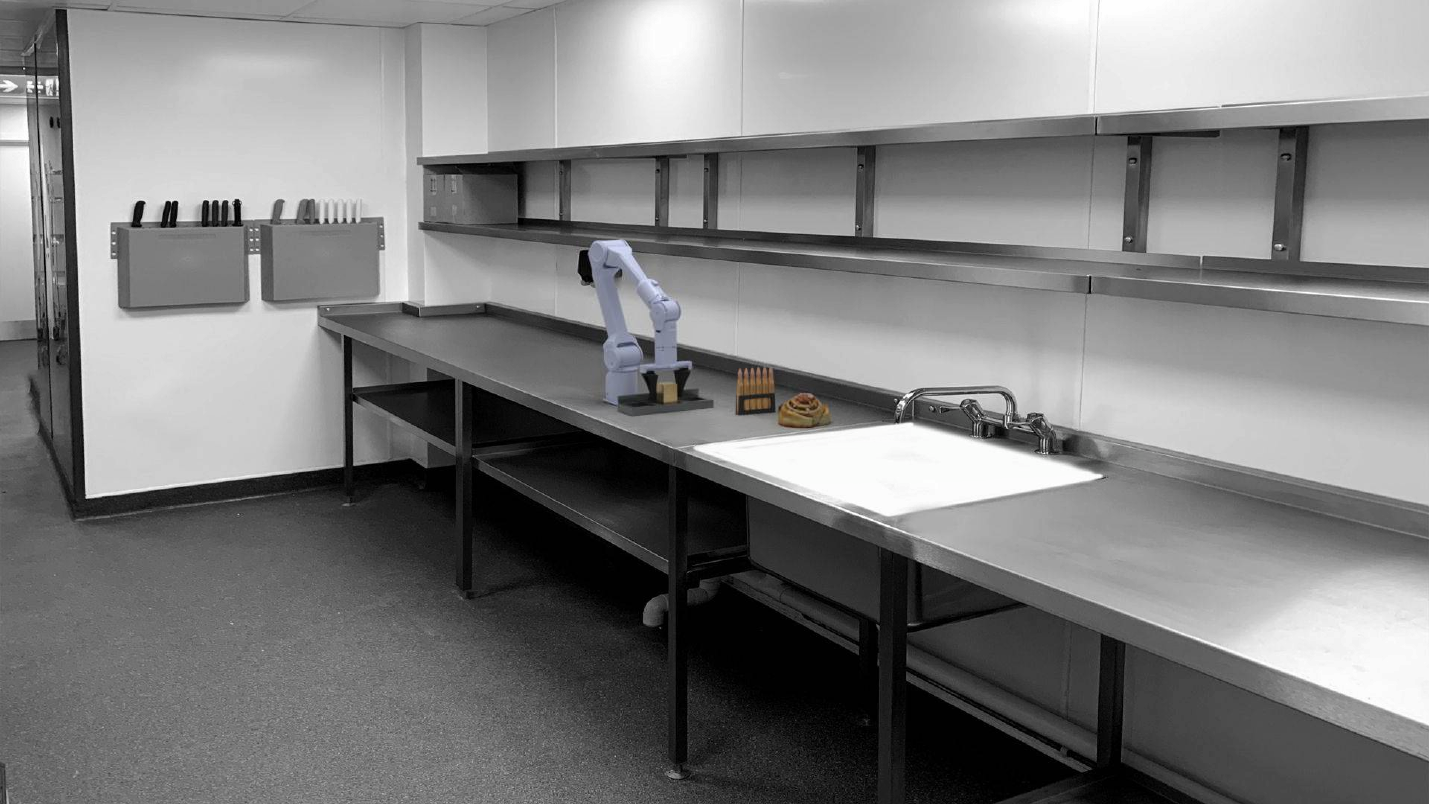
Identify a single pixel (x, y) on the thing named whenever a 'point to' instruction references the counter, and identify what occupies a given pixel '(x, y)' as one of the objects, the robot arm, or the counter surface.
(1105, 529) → the counter surface
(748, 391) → the ammunition clip
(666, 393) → the brass peg
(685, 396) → the charcoal rail
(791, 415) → the pastry
